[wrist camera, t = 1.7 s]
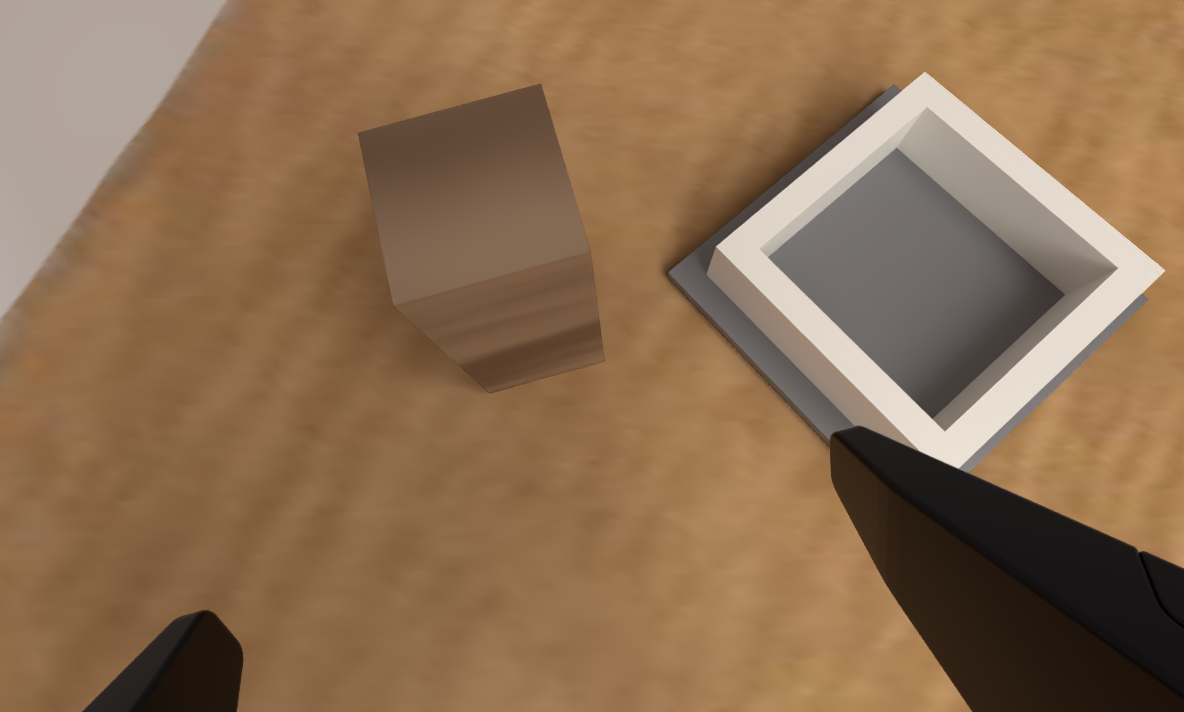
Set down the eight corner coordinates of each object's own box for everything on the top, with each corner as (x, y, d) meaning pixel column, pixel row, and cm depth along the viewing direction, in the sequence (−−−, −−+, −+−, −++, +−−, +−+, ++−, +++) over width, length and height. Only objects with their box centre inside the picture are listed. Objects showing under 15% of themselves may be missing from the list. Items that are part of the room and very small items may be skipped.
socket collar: (1137, 304, 23) (1212, 273, 20) (905, 526, 21) (950, 528, 18) (888, 92, 25) (923, 38, 22) (667, 277, 24) (673, 244, 21)
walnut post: (604, 361, 23) (590, 251, 14) (490, 393, 23) (393, 305, 13) (574, 255, 24) (540, 83, 15) (464, 285, 24) (358, 132, 15)
